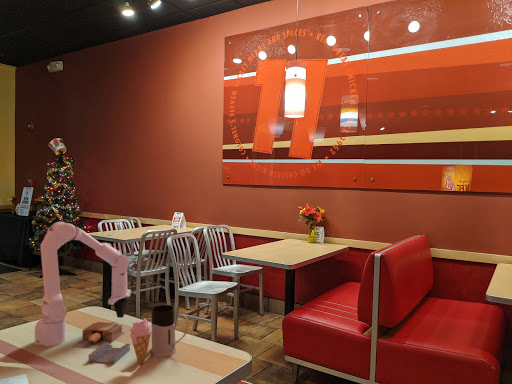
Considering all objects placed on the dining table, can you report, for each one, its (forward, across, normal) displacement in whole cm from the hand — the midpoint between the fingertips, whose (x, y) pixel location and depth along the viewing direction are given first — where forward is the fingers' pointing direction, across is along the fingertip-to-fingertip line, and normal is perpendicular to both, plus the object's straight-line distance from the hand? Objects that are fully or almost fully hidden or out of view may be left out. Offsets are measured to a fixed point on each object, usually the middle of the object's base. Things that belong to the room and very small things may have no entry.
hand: (120, 316), depth 158 cm
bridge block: (+4, -15, 0) cm, 16 cm away
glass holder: (+4, -20, -29) cm, 35 cm away
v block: (+4, -27, -11) cm, 29 cm away
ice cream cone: (+4, -30, -23) cm, 38 cm away
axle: (+3, -13, 0) cm, 13 cm away
